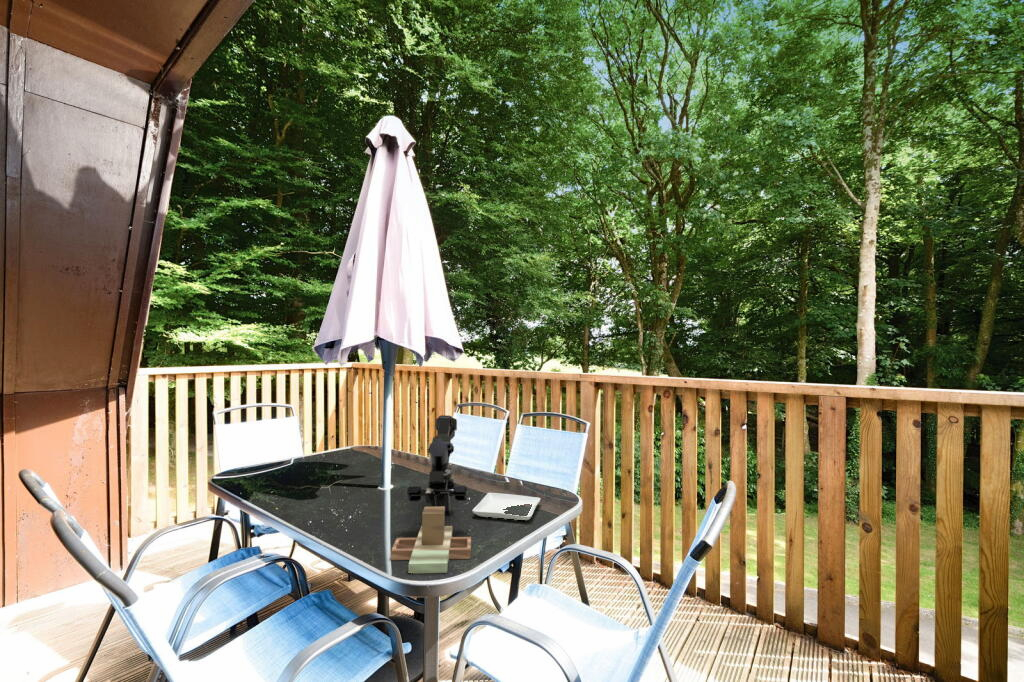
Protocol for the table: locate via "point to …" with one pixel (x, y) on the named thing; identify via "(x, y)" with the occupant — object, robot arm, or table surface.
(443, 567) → the track
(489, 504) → the salad plate
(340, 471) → the table surface
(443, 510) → the walnut block
